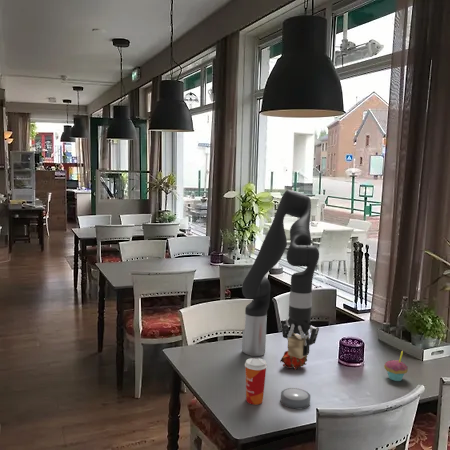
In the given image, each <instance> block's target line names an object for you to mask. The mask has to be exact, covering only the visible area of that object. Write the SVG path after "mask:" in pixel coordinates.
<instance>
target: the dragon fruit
mask: <svg viewBox="0 0 450 450" xmlns="http://www.w3.org/2000/svg"><path fill="white" fill-rule="evenodd" d="M308 356H309V355H307V356H305V357H303V358H301V359H299V358H296V357H293V356H290V355H288V350H286V351H284V353H283V355H282V357H281V359H280V361H279V362H280V363H283V364H282V366H283V367H284V368H288V369H292V368H294V370H295V371H296V370H297V369H301V368H302V367H304V366H306V365H307V363H306V362H307V361H308V359H307V358H308Z"/></svg>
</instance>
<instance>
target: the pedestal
mask: <svg viewBox="0 0 450 450" xmlns="http://www.w3.org/2000/svg"><path fill="white" fill-rule="evenodd" d="M280 404H282V405H283V406H284V407H287V408H289V407H290V408H289V409H294V408H302V409H306V408H308V407H309V406H310V404H311V394H310V393H309V392H308V391H306V390H304V389H301V388H297V387H289V388H284V389H283V390H281V392H280ZM305 407H306V408H305Z"/></svg>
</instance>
